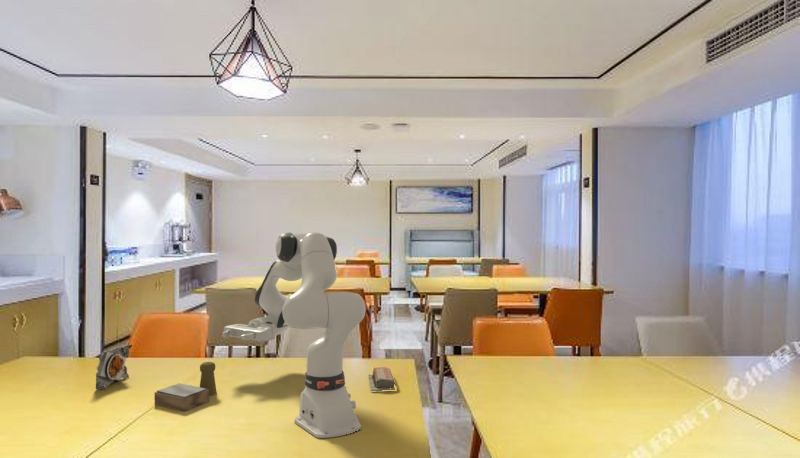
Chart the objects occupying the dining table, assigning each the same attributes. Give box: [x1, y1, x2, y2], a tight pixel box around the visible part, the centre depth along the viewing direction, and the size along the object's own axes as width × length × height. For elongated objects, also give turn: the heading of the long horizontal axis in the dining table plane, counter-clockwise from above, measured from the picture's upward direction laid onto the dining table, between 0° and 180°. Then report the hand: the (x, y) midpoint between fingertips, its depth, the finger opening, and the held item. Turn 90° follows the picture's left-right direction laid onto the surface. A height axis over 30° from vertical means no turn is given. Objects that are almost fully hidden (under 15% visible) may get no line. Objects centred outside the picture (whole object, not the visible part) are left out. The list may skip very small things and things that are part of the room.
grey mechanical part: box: [95, 344, 133, 391], centre depth 188 cm, size 15×4×13 cm, turn 175°
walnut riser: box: [154, 382, 210, 412], centre depth 168 cm, size 10×14×4 cm
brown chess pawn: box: [199, 361, 217, 397], centre depth 178 cm, size 6×6×11 cm
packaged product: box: [368, 366, 399, 392], centre depth 189 cm, size 18×5×10 cm
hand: (233, 336), depth 189 cm, fingers open, 8 cm apart
